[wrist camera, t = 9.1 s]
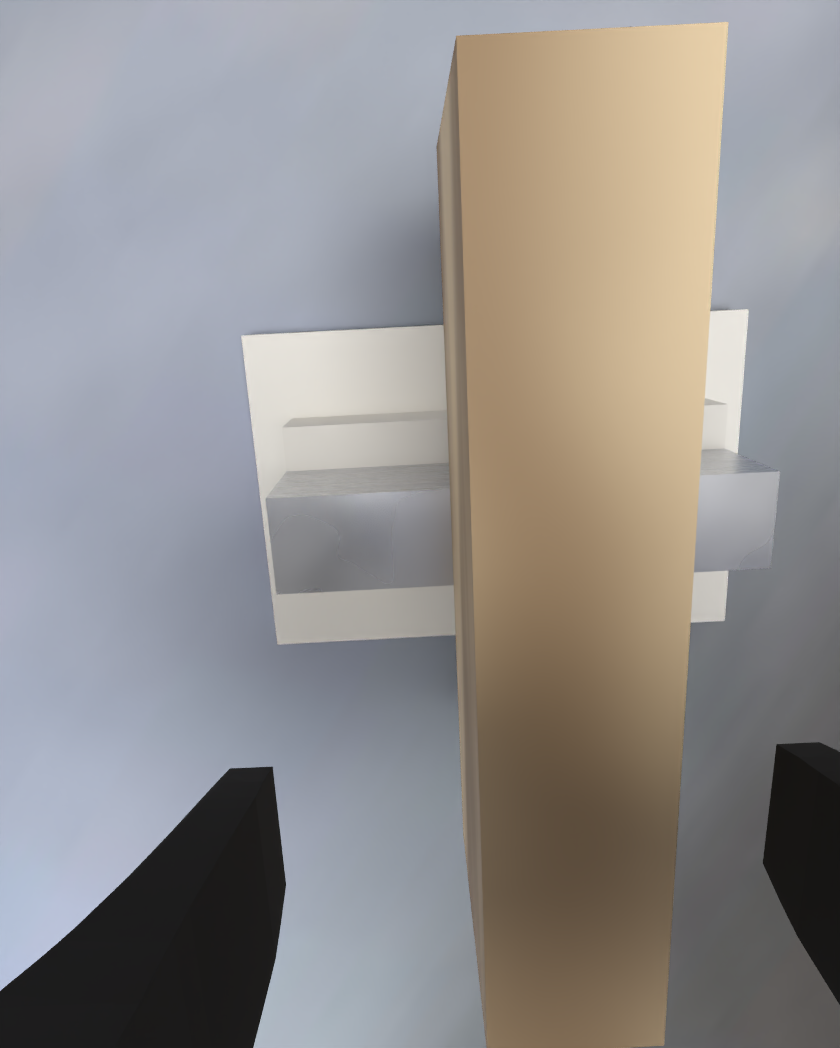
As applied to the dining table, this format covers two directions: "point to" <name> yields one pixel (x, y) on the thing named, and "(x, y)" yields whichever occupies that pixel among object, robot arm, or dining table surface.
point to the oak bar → (576, 501)
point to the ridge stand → (433, 480)
